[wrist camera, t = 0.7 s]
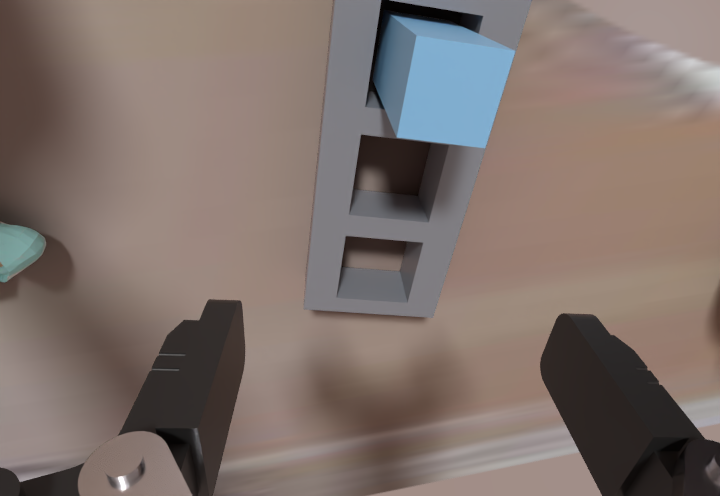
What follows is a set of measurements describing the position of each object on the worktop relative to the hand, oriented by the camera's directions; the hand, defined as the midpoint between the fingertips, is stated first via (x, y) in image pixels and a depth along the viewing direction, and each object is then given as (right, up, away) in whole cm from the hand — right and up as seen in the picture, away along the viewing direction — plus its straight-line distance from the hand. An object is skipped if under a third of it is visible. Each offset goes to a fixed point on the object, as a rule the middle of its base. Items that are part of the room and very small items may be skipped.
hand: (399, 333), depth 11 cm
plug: (+2, +14, +16) cm, 22 cm away
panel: (+1, +9, +20) cm, 21 cm away
